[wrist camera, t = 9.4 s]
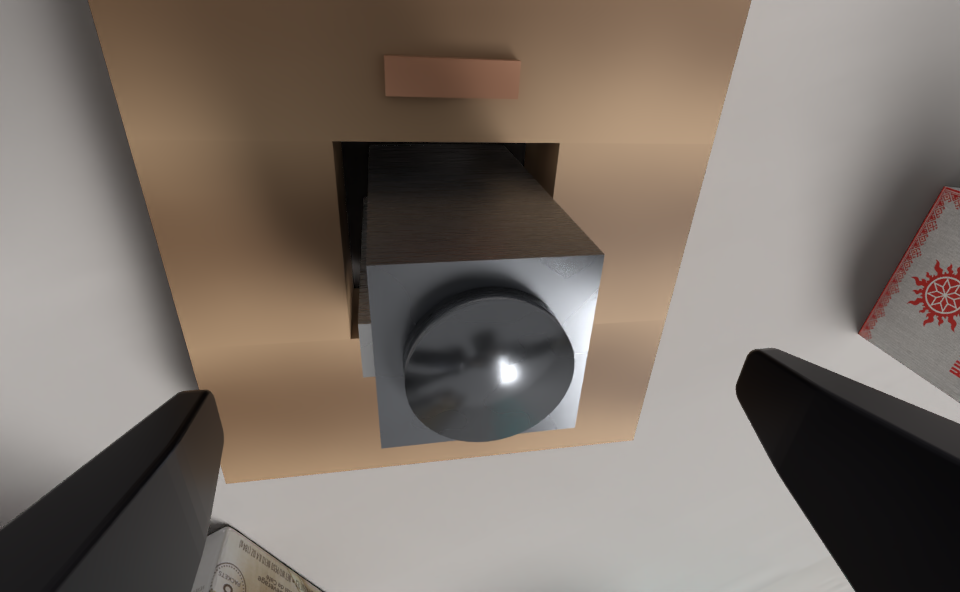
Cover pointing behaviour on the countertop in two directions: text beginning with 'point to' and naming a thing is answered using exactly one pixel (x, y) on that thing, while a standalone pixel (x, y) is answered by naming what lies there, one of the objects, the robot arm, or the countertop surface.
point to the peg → (471, 296)
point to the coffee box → (243, 567)
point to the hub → (402, 118)
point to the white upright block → (925, 300)
